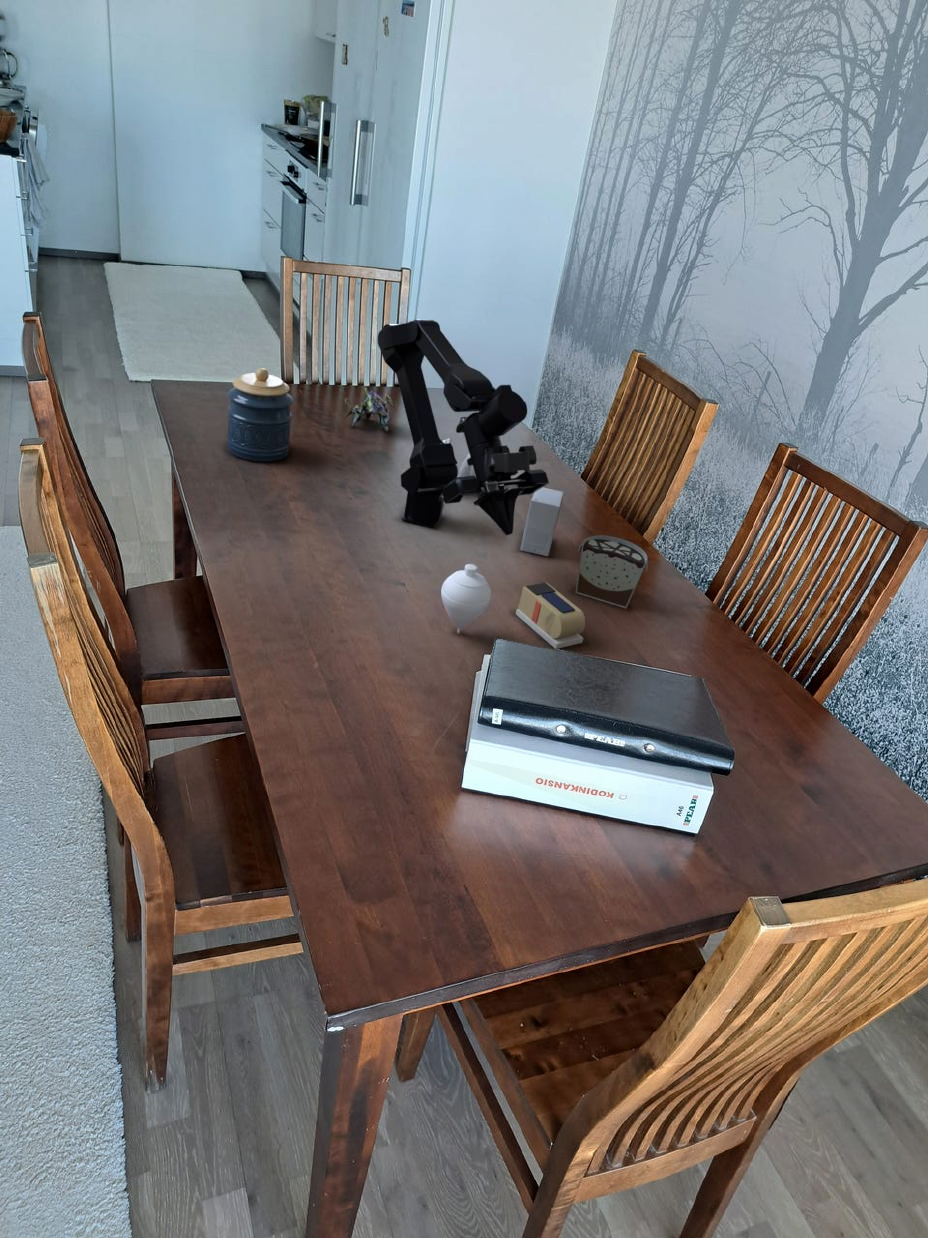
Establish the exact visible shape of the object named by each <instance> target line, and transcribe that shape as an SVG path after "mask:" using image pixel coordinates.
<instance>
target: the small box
mask: <svg viewBox="0 0 928 1238" xmlns="http://www.w3.org/2000/svg"><path fill="white" fill-rule="evenodd" d="M564 493H565V492H564V491H561V490H556V489H552V488H547V487H545V486H544V487H542V488H541V489H539V490H537V491H536V492H534V493H532V497H531V499H530V503H529V507H528V512H527V515H526V520H525V525H524V530H523V535H522V539H521V545H520V549H519V550H520V551H521V552H526V553H529V554H534V555H539V556H543V557H549V555H550V551H551V548H552V543H553V539H554V535H555V531H556V527H557V523H558V520H559V517H560V516H559V515H560V512H561V508H562V503H563V498H564Z"/></svg>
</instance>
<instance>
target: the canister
mask: <svg viewBox="0 0 928 1238" xmlns="http://www.w3.org/2000/svg"><path fill="white" fill-rule="evenodd" d="M232 386H233V387H232V388H231V389H229V390H228V393H227V396H228V398H229V399H230V403H229V406H228V407H227V413H228V414H227V416H228V417H227V435H226V445H227V450H228V452H229V453H230V454H232V455H233V456H235V457H237V458H240V459H243V460H247V461H253V462H263V463H265V462H276V461H280V460H282V459H285V458H286V457H288V454H289V450H290V449H291V448H290V447H291V446H290V445H291V442H290V433H291V422H292V418H293V414H292V412H291V406H292V404H293V403H294V398H293V396H291V394H290V393H289V392H290V389H291V388H290V386H289V384H287V383H286V382H284V380H282V378H280V377H278V376H275V375H272V374H270V373H269V371H268V370H267V369H266V368H263V367H260V368H257V369H256V371H255V372H250V373H249V372H248V373H245V374H242V375H241V376H239V377H237V378H235V379H234V380H233V381H232Z"/></svg>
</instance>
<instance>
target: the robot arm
mask: <svg viewBox="0 0 928 1238" xmlns="http://www.w3.org/2000/svg"><path fill="white" fill-rule="evenodd" d="M377 346H378V348H379V350H380V353H381V355H382V359H383V361H384V363H385V364H386V365H387V366H388V368H390V369H391V371H393V372H394V373H395V375H396V379H397V382H398V387H399V390H400V395H401V398H402V403H403V407H404V411H405V414H406V419H407V423H408V427H409V431H410V434H411V439H412V443H413V449H412V451H411V453H410V458H409V468H408V469H406V470H405V471H404V472H402V473H401V474H400V487H402V488H403V490H405V491H406V492H407V493H406V500H405V507H404V513H403V515H402V517H401V521H403V522H408V523H411V524H415V525H419V526H423V527H428V528H435V527H436V525H437V523H439V522H440V520H441V518H442V516H443V510H444V505H449V504H456V503H460V502H461V501H462V499H463V497H464V496H465V495H475V494H476V500H474V501H473V505H474V506H478V507H479V508H480V509H481V510H482V511H484V513H486V514H487V515H488V516H489V517H490V518H491V520H492V521H493V522H494V523H495V524H496V525H497V527H498V528H499V529H500V530H501V531H502V533H503V534H504V535H506V536H509V535H512V534H513V533H514V524H515V523H514V522H515V509H516V503H517V499H518V497H521V496H530V495H533V494H534V492H536V491H537V490H539V489H541V488H542V487H544V488H545V486H547V485H549V484H550V481H549V478H548V473H547V472H546V471H545V470H544V469H542V468H541V469H531V468H530V467H531V465H533V466H534V465H536V464H537V461H538V460H537V452H536V449H535V447H534V445H521V446H519V447H518V450H517V451H518V452H511V451H510V448H509V446H508V445H503V443H502V441H501V437H502V436H505V434H507V433H509V432H510V431H511V430H513V429H514V428H515V427H516V426H518V425H519V424H520V423H522V422H523V421H524V420H525V419H526V418H527V415H528V405H527V402H526V401H524V399H523V398H522V397H521V395H520V394H519V393H517V392H515V391H513V389H512V385H511V384H499V386H498V387H494V386H493V384H492V383H493V382H491V380H490V379H489V378H488V377H487V376H485V374H483V373H482V372H481V371H480V370H478V369H475V368H474V367H471V366H470V365H468V364H467V363H466V362H465V361H464V359H463V357H461V356H460V354H459V353H458V352H457V350H456V349H455V348H454V346H453V345H452V344H451V342H450V341H449V340H448V338H447V337H446V336H445V334H444V333H443V331H441V326H440V323H439V322H437V321H435V320H434V319H414V320H410V321H408V322H405V323H400V324H399V323H396V324H395V323H386V324H384V325H383V327H382V329H380V330H379V332H378V333H377ZM425 358H426V360H427V362H428V363H430V366H432V368H433V370H435V372H436V374H438V376H439V378H440V379H441V382H442V383H443V391H442V393H443V396H444V398H445V400H446V402H447V404H448V406H449V408H450V409H451V410H452V411H453V412H454V413H470V412H472V413H471V414H469V415H468V416H461V417H460V419H459V423H458V424H457V425H456V428H455V432H456V433H457V434H463V435H464V439H465V443H466V446H467V449H468V454H470V458H469V459H468V460H467V463H468V466H470V465H473V468H474V471H475V475H476V477H475V476H464V477H458V474H459V468H458V466H457V465H458V461H457V459H456V455H455V450H454V446H453V445H451V443H444V442H443V440H442V439H441V438H440V434H439V432H438V427H437V423H436V420H435V419H436V418H435V416H434V411H433V408H432V404H431V403H432V402H431V400H430V399H431V398H430V395H429V392H428V388H427V384H426V380H425V376H424V372H423V368H422V364H423V362H424V359H425ZM520 471H523V472H522V473H521V474H519V472H520ZM517 474H519V475H518V476H516V475H517ZM513 476H515V477H513Z"/></svg>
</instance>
